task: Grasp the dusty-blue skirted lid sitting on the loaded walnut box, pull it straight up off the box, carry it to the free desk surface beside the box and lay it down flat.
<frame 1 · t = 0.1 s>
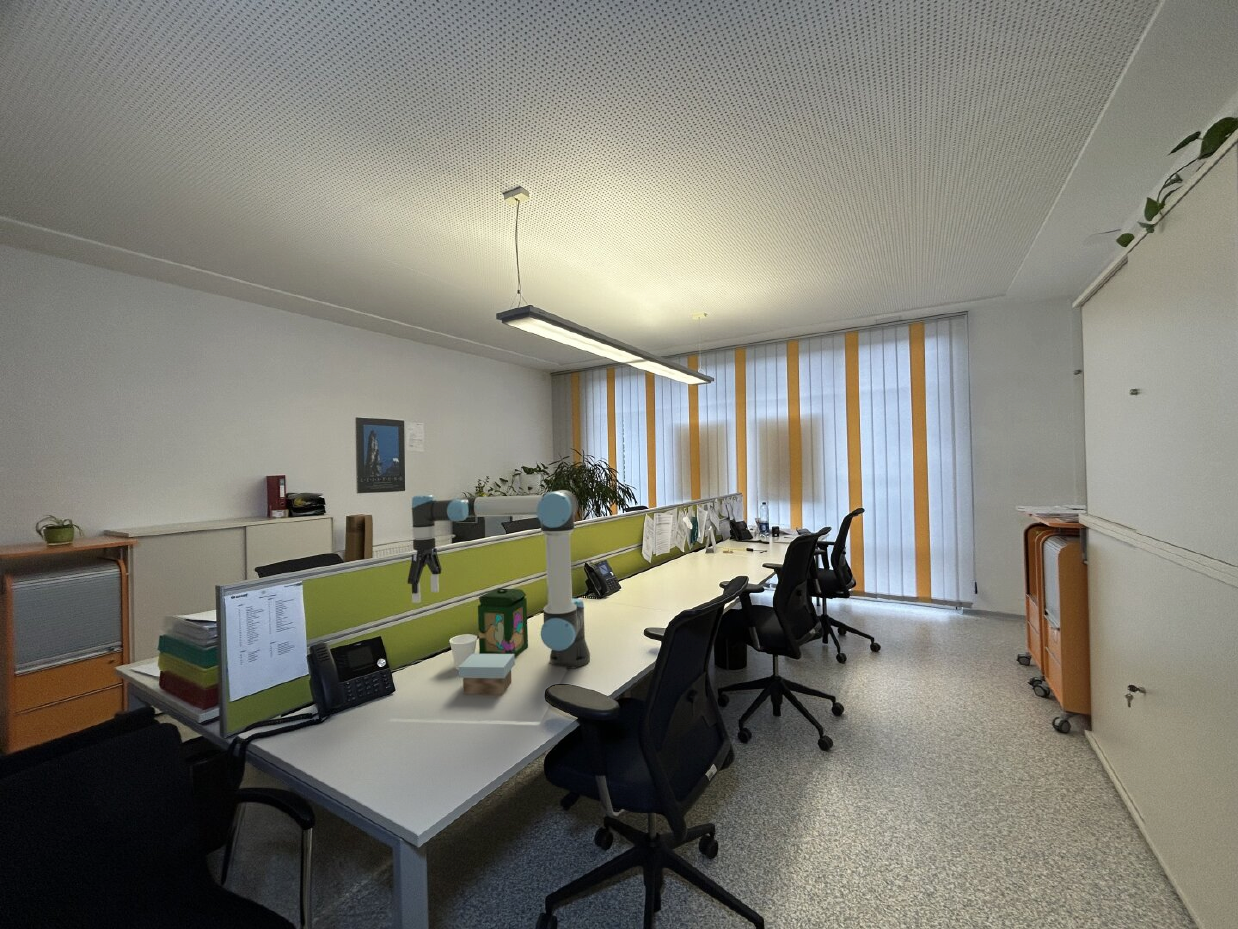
hand: (426, 597, 177), 28 cm above the table, fingers open, 13 cm apart
block terracotta: (480, 688, 163), point 1 cm above the table, touching crate
cup: (464, 669, 182), on the table
block beech: (496, 688, 163), point 1 cm above the table, touching crate
container: (505, 652, 196), on the table
lid: (487, 670, 163), point 6 cm above the table, touching crate
crate: (488, 690, 163), on the table
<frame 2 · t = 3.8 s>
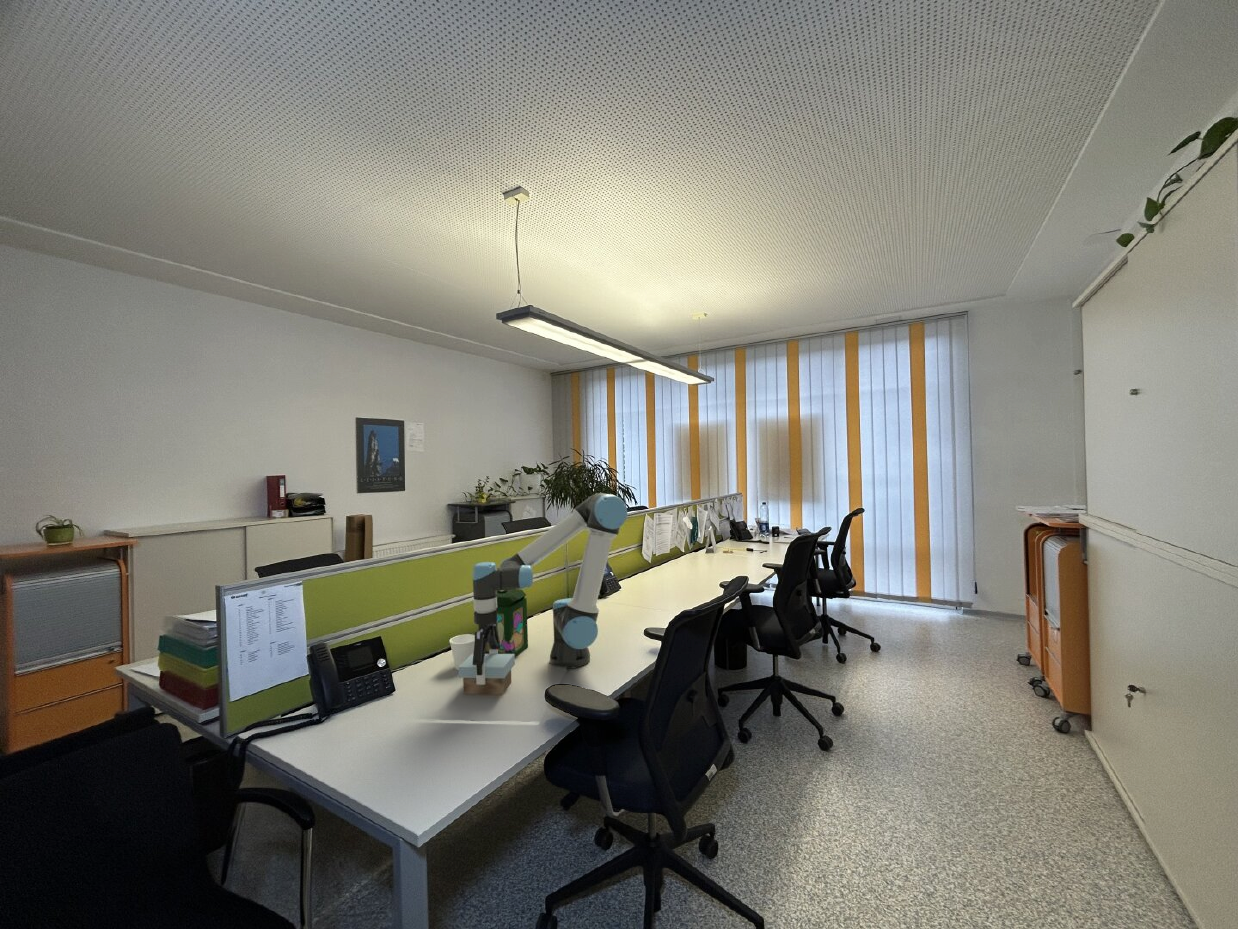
hand: (487, 676, 163), 5 cm above the table, fingers closed on lid, 11 cm apart
lid: (487, 670, 163), point 7 cm above the table, touching crate, gripper
everything else where it was.
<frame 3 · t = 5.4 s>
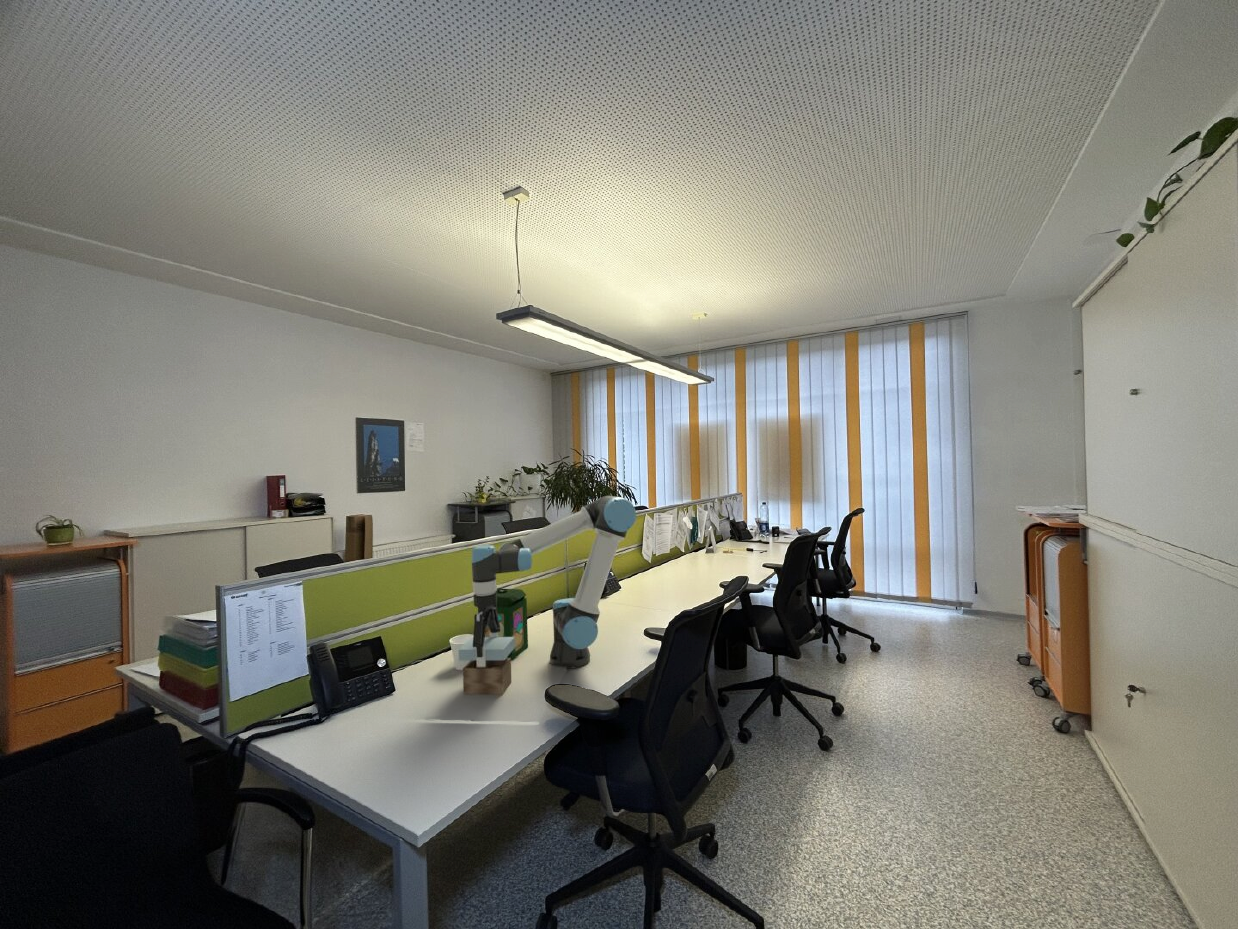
hand: (488, 658, 163), 10 cm above the table, fingers closed on lid, 11 cm apart
lid: (487, 653, 163), point 12 cm above the table, touching gripper
everything else where it was.
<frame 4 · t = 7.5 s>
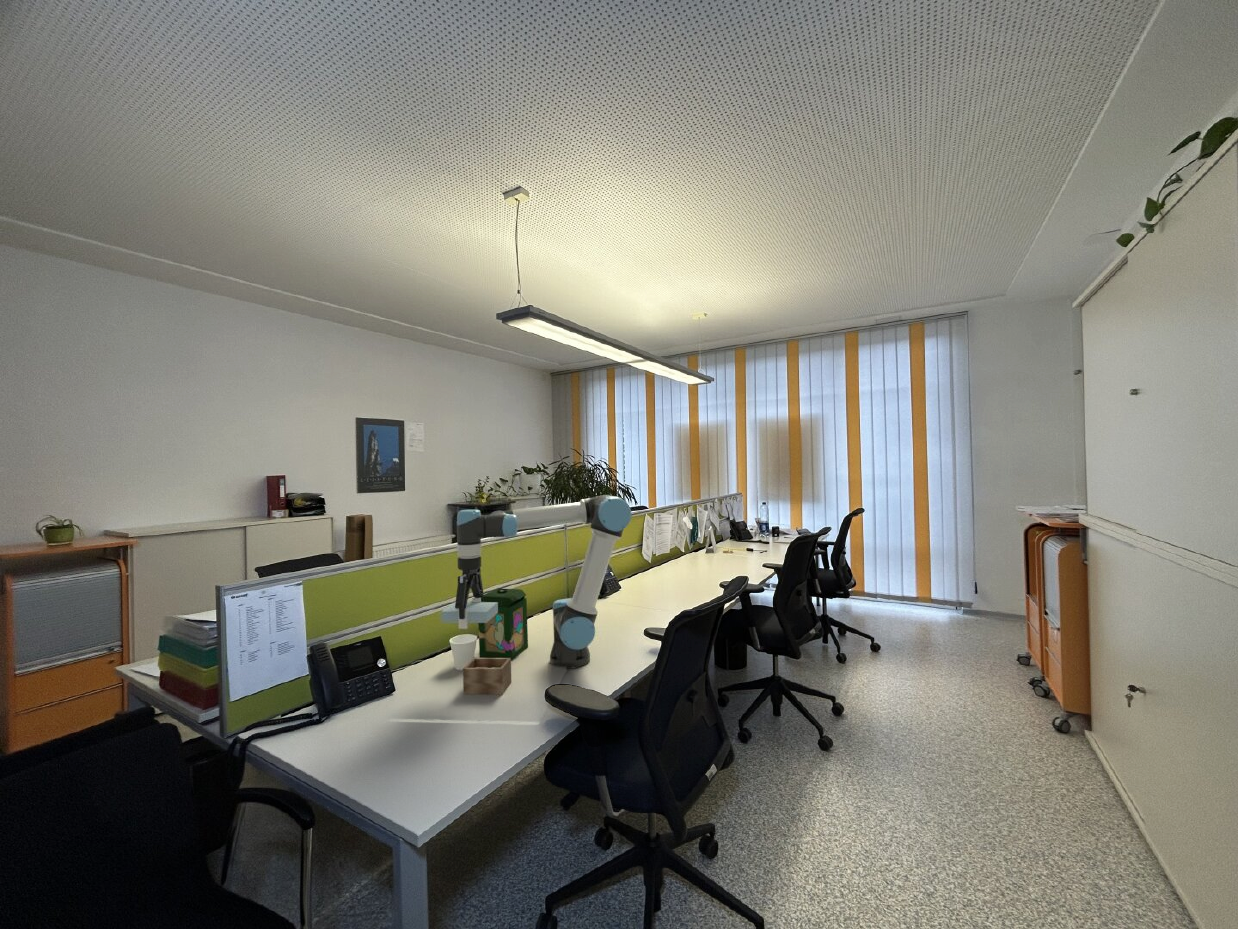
hand: (470, 622, 163), 23 cm above the table, fingers closed on lid, 11 cm apart
lid: (470, 617, 163), point 24 cm above the table, touching gripper
everything else where it was.
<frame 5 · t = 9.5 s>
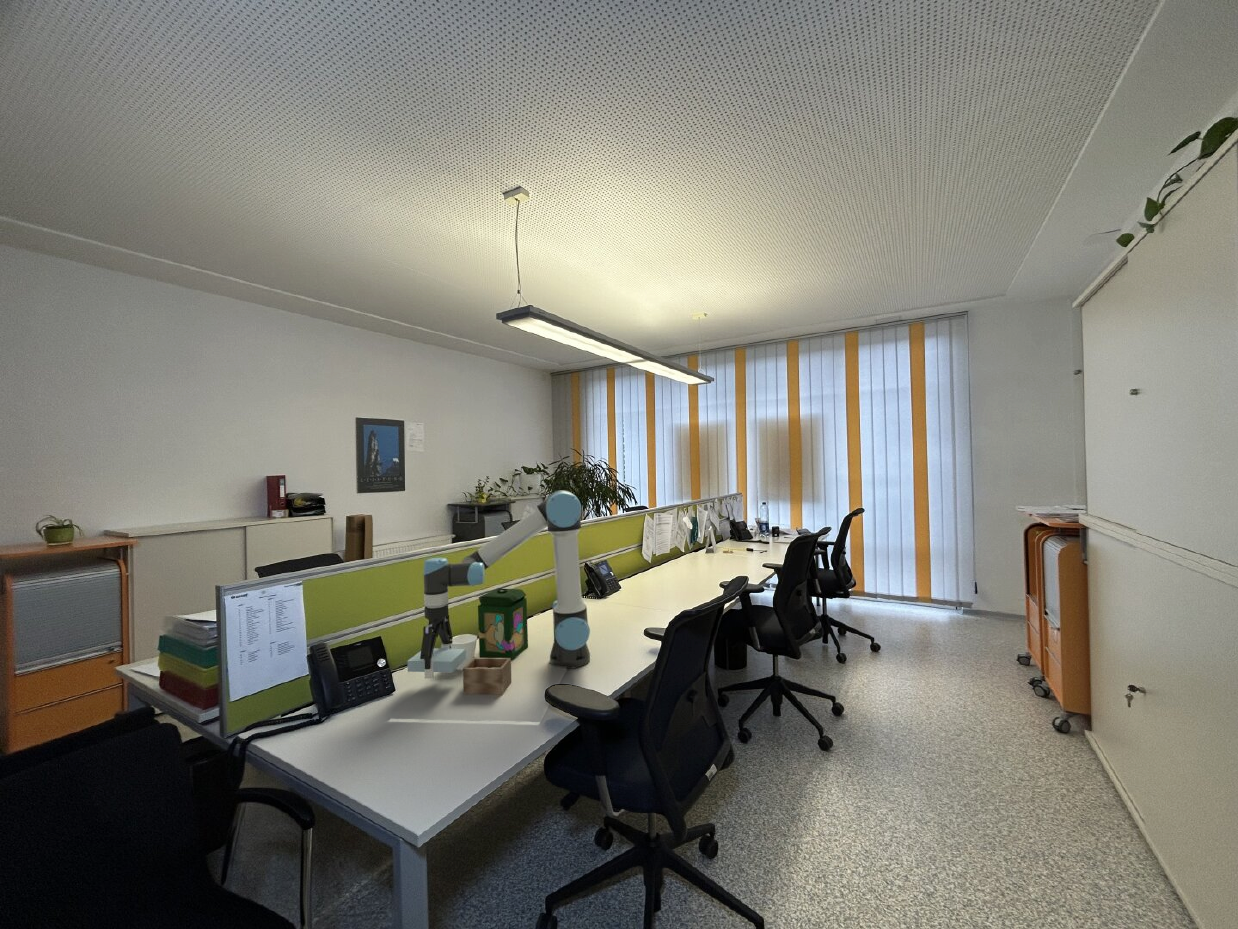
hand: (437, 670, 165), 6 cm above the table, fingers closed on lid, 11 cm apart
lid: (437, 665, 165), point 8 cm above the table, touching gripper
everything else where it was.
when the fingers open (0 cm above the table, at t = 11.3 s): lid drops 2 cm, on the table.
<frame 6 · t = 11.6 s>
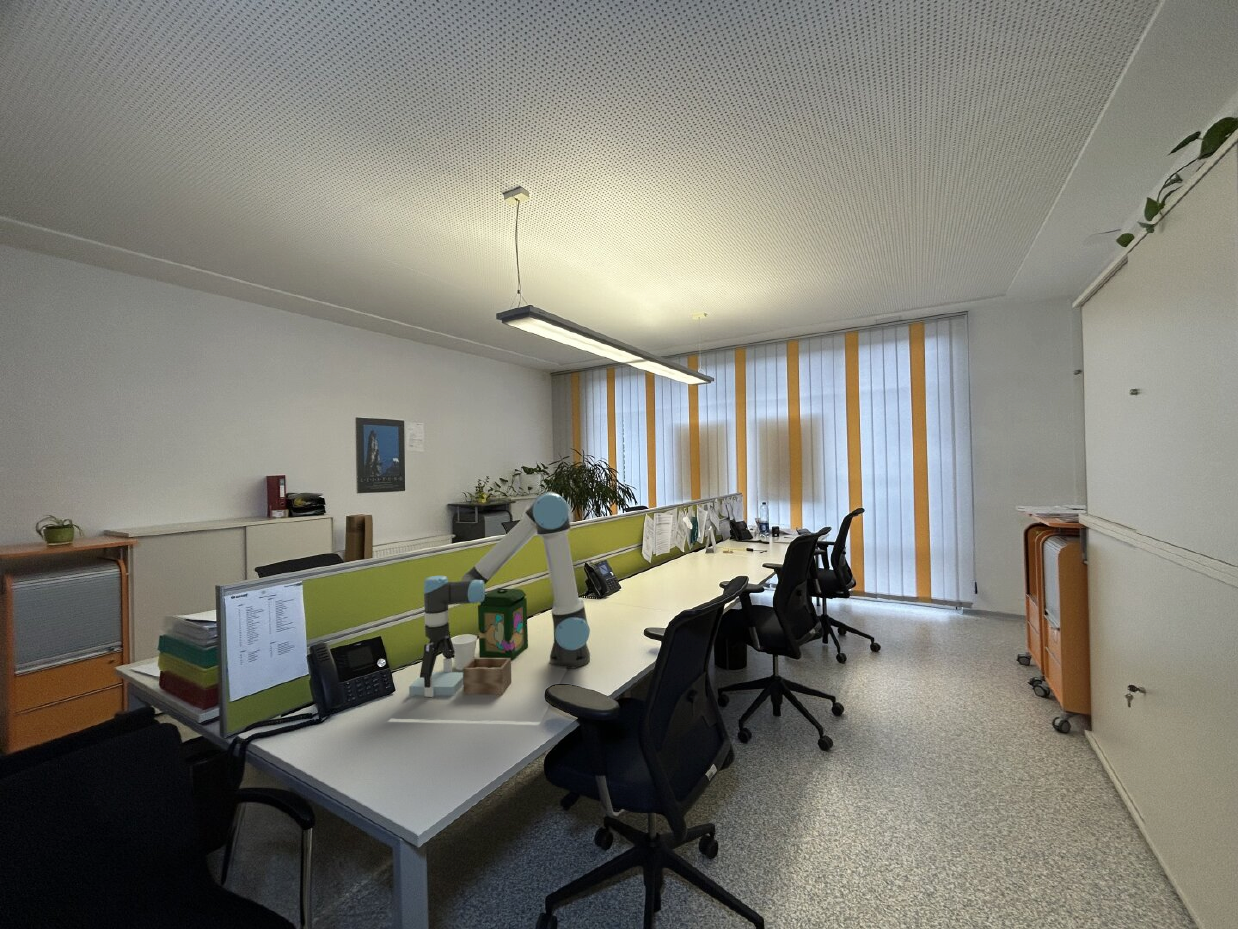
hand: (439, 686, 165), 1 cm above the table, fingers open, 13 cm apart
lid: (439, 689, 165), on the table
everything else where it was.
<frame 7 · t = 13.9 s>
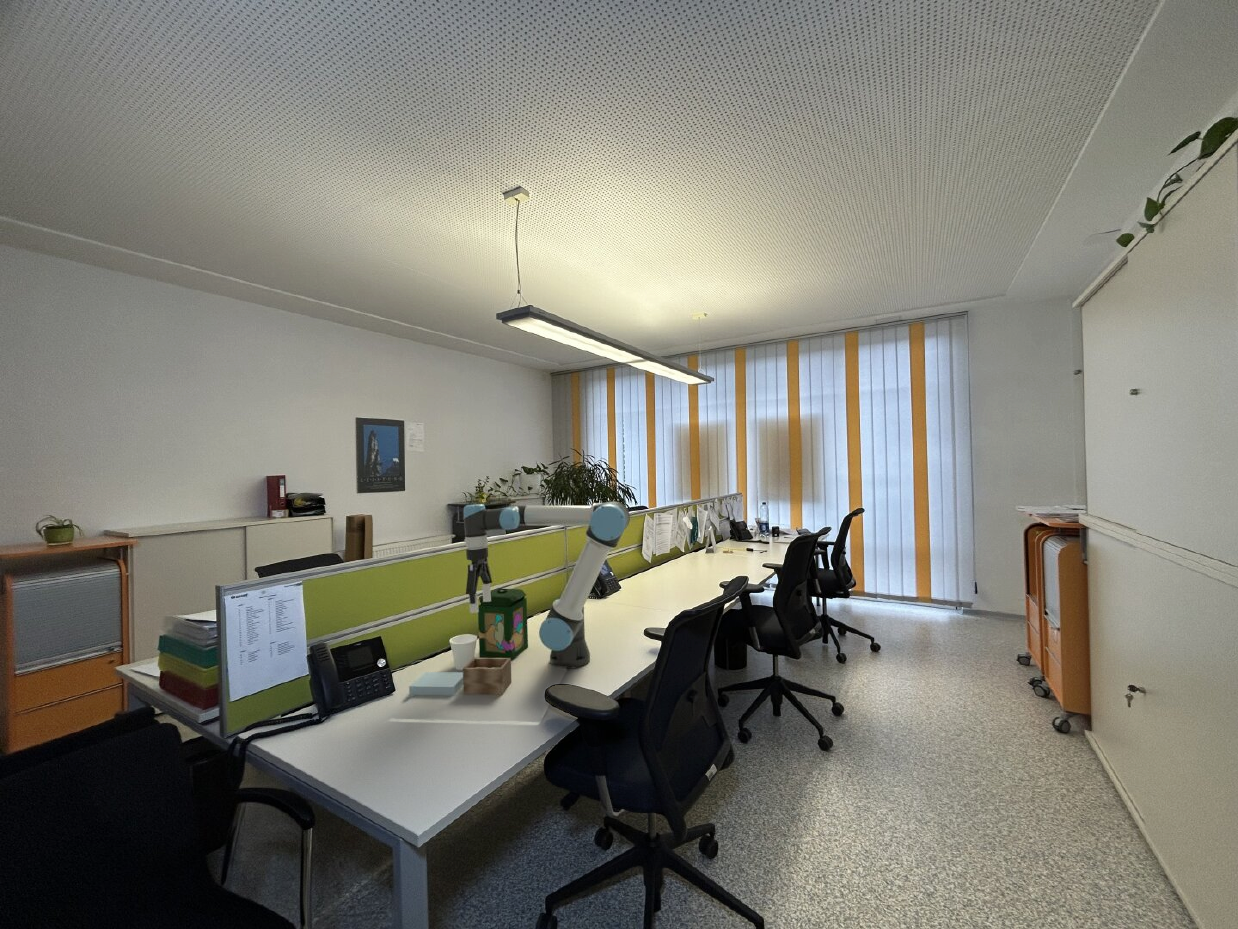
hand: (481, 607, 176), 24 cm above the table, fingers open, 13 cm apart
nothing on the table moved.
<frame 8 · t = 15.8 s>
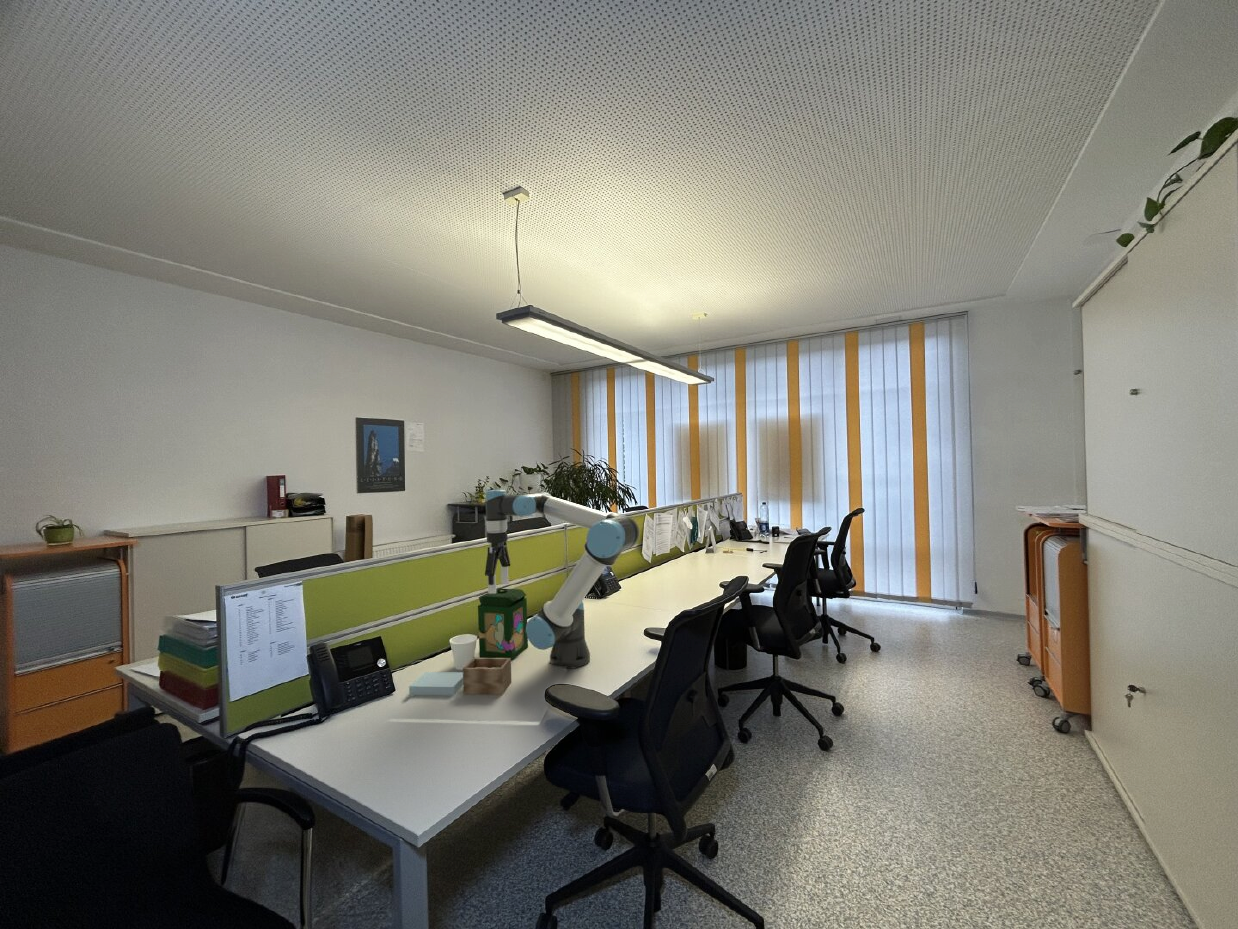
hand: (498, 588, 183), 29 cm above the table, fingers open, 13 cm apart
nothing on the table moved.
at the end: lid inside the target area (0.0 cm from its centre), on the table; lid tilted 0°; lid touching table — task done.
